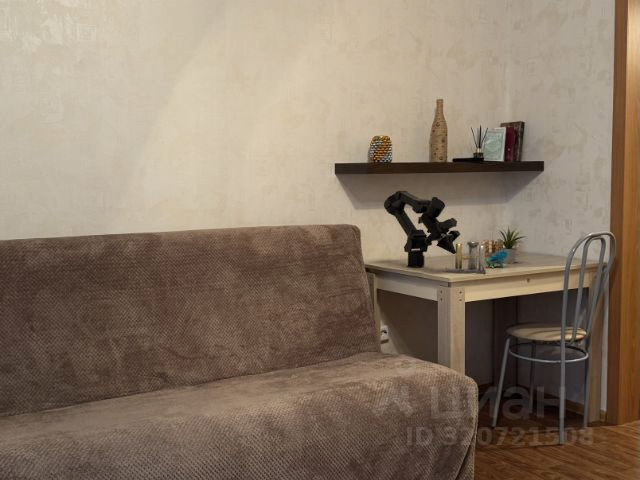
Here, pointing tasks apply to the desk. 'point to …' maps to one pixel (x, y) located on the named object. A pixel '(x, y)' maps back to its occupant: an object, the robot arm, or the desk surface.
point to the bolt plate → (463, 271)
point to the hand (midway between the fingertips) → (454, 253)
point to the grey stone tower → (473, 252)
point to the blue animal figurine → (496, 258)
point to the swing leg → (460, 257)
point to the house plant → (510, 245)
